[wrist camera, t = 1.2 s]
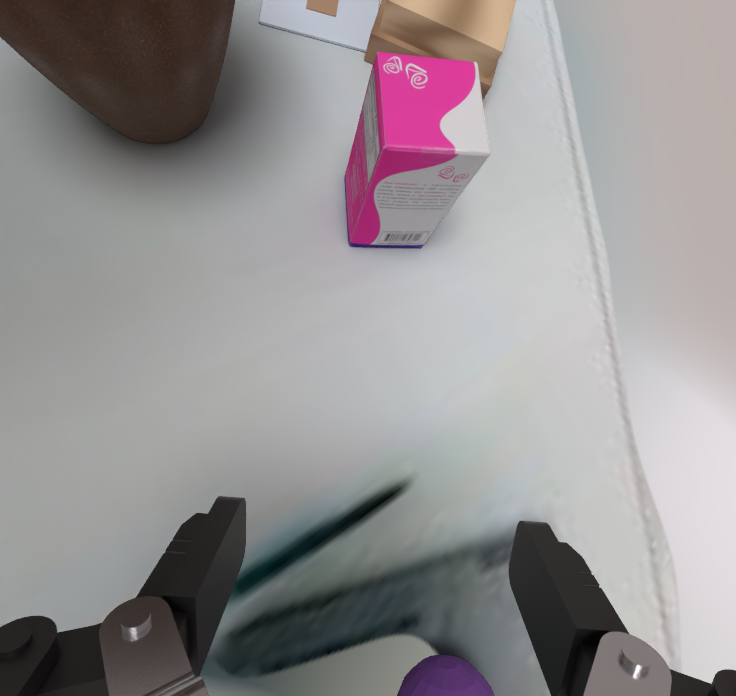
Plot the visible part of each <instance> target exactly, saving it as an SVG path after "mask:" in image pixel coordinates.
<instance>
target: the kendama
mask: <svg viewBox="0 0 736 696" xmlns="http://www.w3.org/2000/svg"><path fill="white" fill-rule="evenodd" d="M397 696H494V693H493V691H492V688H491V686H490V685H489V684H488V682H487V681H486V680H485V678H484V677H483V676H482V675H481V674H480V673H479V672H478V671H477V670H476V669H475V668H474V667H473V666H472V665H471V664H469V663H468V662H466V661H465V660H463V659H461V658H458V657H455V656H451V655H434V656H430V657H428V658H425V659H423V660H422V661H421V662H420V663H418V664H417V665H416V666H415V667H413V668H412V669H411V670H410V672H409V673H408V674H407V675H406V676H405V677H404V680H403V683H402V685H401V687H400V690H399V692H398V695H397Z"/></svg>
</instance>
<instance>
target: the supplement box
mask: <svg viewBox="0 0 736 696" xmlns="http://www.w3.org/2000/svg"><path fill="white" fill-rule="evenodd" d="M489 155H490V147H489V141H488V135H487V129H486V123H485V117H484V110H483V102H482V94H481V86H480V79H479V71H478V64H477V62H470V61H460V60H452V59H441V58H432V57H422V56H413V55H404V54H395V53H386V52H377V53H376V56H375V60H374V64H373V67H372V71H371V75H370V79H369V83H368V87H367V91H366V95H365V99H364V103H363V107H362V111H361V114H360V119H359V123H358V127H357V131H356V135H355V139H354V142H353V146H352V150H351V154H350V158H349V162H348V166H347V170H346V174H345V192H346V211H347V227H348V241H349V245H350V246H354V247H400V248H422V246H423V245H424V243H425V242H426V241H427V239H428V238H429V237H430V235H431V234H432V233H433V231H434V230H435V229H436V227H437V226H438V224H439V223H440V222H441V220H442V219H443V218H444V216H445V215H446V214H447V212H448V211H449V209H450V208H451V207H452V205H453V204H454V203H455V201H456V200H457V198H458V197H459V196H460V194H461V193H462V192H463V190H464V189H465V188H466V186H467V185H468V184H469V182H470V181H471V179H472V178H473V177H474V175H475V174H476V173H477V171H478V170H479V169H480V167H481V166H482V165H483V163H484V162H485V161H486V159H487V158H488V157H489Z"/></svg>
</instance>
